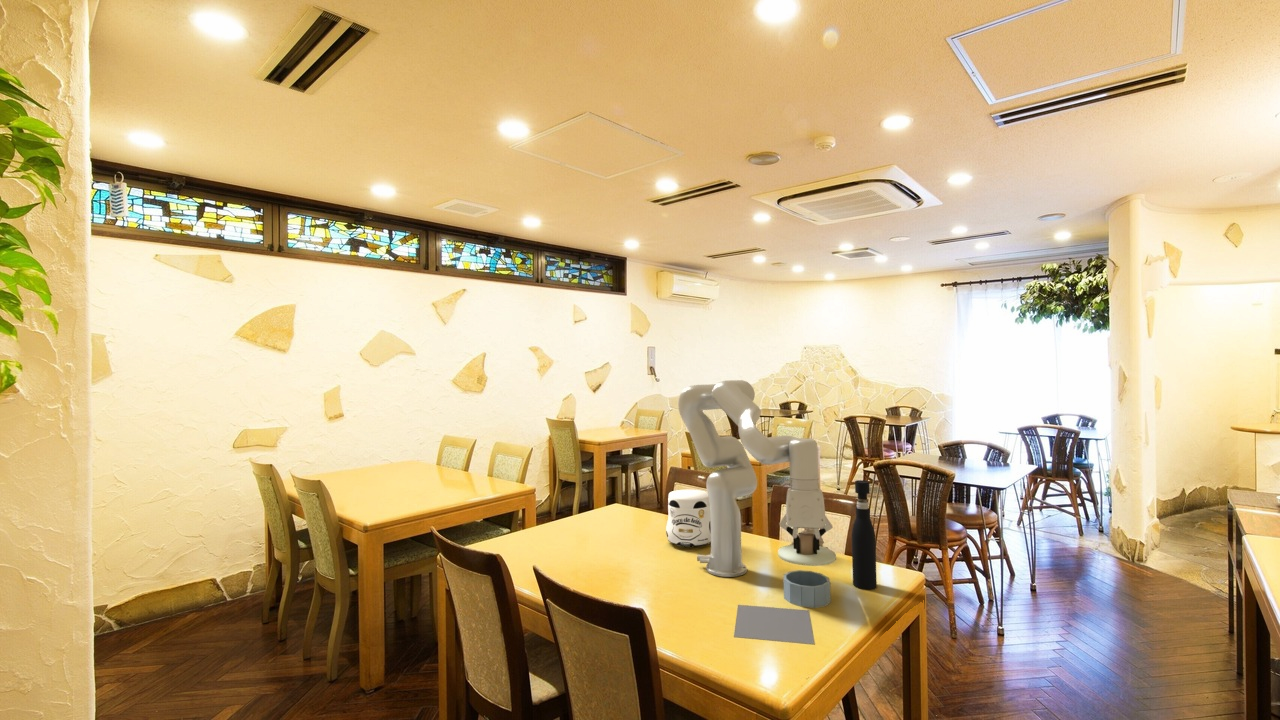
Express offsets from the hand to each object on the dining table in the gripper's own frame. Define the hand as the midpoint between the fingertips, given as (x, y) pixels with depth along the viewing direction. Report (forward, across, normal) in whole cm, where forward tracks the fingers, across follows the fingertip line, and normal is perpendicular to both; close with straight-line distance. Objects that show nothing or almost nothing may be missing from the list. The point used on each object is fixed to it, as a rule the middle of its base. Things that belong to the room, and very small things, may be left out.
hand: (806, 551), depth 149 cm
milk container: (+13, -38, +44) cm, 60 cm away
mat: (+13, -9, -17) cm, 23 cm away
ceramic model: (+13, +2, +37) cm, 39 cm away
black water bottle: (+14, +17, +14) cm, 26 cm away
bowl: (+13, 0, 0) cm, 13 cm away
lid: (+1, 0, 0) cm, 1 cm away
